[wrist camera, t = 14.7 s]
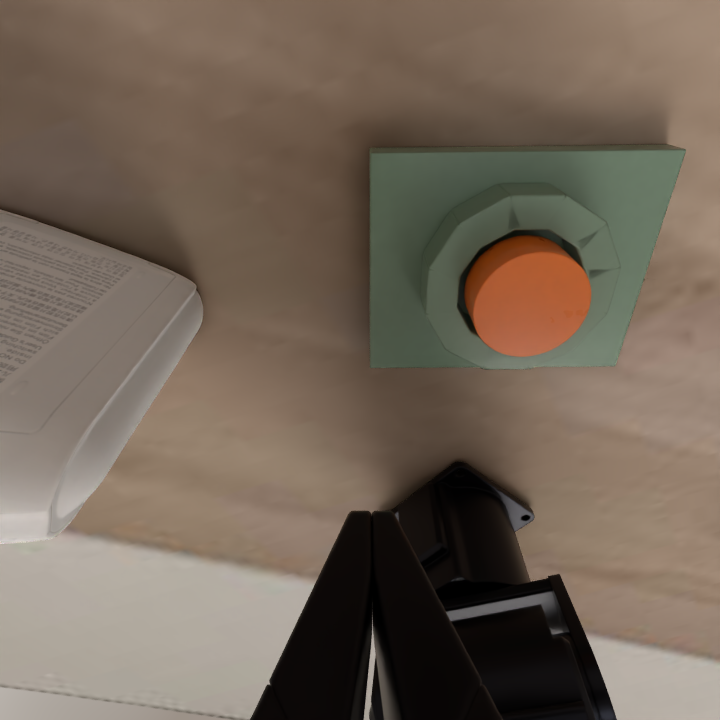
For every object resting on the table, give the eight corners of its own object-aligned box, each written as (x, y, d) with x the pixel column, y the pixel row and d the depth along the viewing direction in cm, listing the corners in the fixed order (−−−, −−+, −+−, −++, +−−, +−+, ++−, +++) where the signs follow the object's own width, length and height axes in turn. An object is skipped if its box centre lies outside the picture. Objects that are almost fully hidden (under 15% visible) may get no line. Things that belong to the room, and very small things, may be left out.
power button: (584, 233, 17) (605, 250, 15) (559, 333, 19) (576, 357, 17) (469, 235, 17) (480, 252, 15) (458, 334, 19) (466, 357, 17)
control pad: (668, 144, 18) (720, 158, 15) (604, 352, 22) (634, 390, 20) (369, 147, 18) (370, 162, 15) (369, 354, 22) (370, 392, 20)
